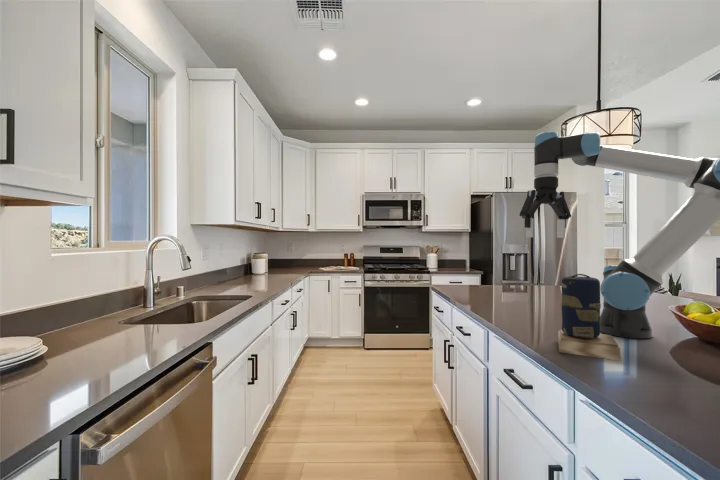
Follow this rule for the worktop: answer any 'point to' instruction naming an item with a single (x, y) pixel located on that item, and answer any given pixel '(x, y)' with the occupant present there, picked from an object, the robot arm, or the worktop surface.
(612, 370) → the worktop surface
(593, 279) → the canister
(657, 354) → the worktop surface
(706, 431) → the worktop surface
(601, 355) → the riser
